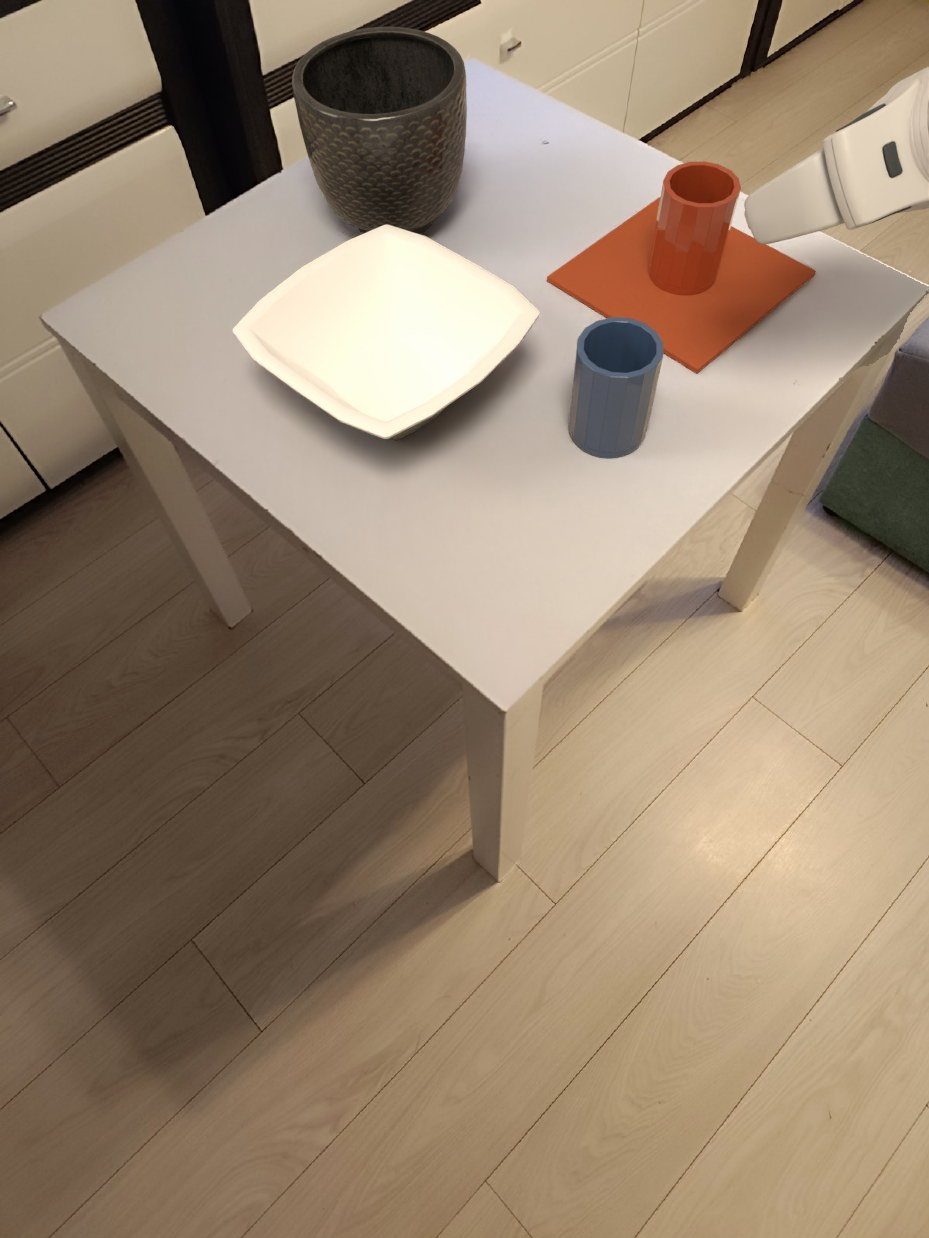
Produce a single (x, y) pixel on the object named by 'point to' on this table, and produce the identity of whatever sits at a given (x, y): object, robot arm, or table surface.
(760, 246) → the rust mat
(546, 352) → the table surface
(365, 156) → the planter
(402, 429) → the bowl
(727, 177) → the rust cup
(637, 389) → the blue cup
